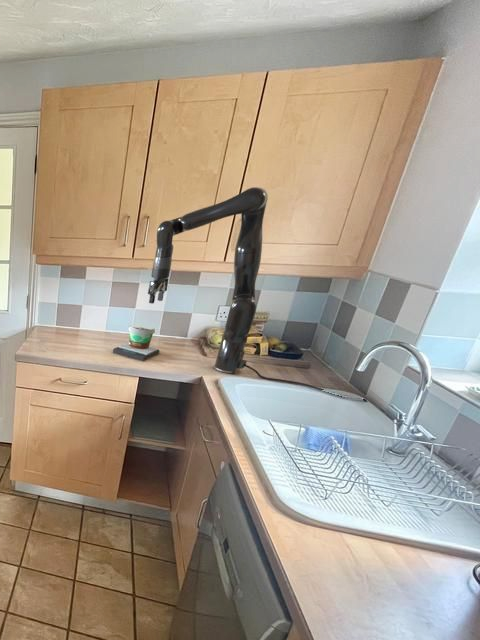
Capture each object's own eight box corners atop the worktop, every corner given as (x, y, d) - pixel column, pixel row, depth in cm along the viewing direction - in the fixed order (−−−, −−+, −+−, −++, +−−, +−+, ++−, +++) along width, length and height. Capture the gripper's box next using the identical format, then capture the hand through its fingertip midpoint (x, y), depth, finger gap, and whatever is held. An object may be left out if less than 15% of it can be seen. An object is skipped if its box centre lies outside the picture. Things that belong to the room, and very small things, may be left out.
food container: (124, 347, 206) (127, 328, 202) (126, 344, 211) (129, 325, 207) (150, 351, 201) (154, 331, 197) (151, 347, 206) (155, 328, 202)
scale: (158, 353, 206) (159, 348, 205) (142, 361, 196) (144, 355, 195) (129, 346, 217) (129, 341, 216) (112, 352, 207) (113, 347, 206)
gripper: (162, 269, 183) (156, 305, 189) (176, 266, 192) (170, 300, 198) (146, 267, 188) (140, 303, 195) (160, 264, 197) (155, 298, 203)
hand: (155, 301), depth 196 cm, fingers open, 8 cm apart
